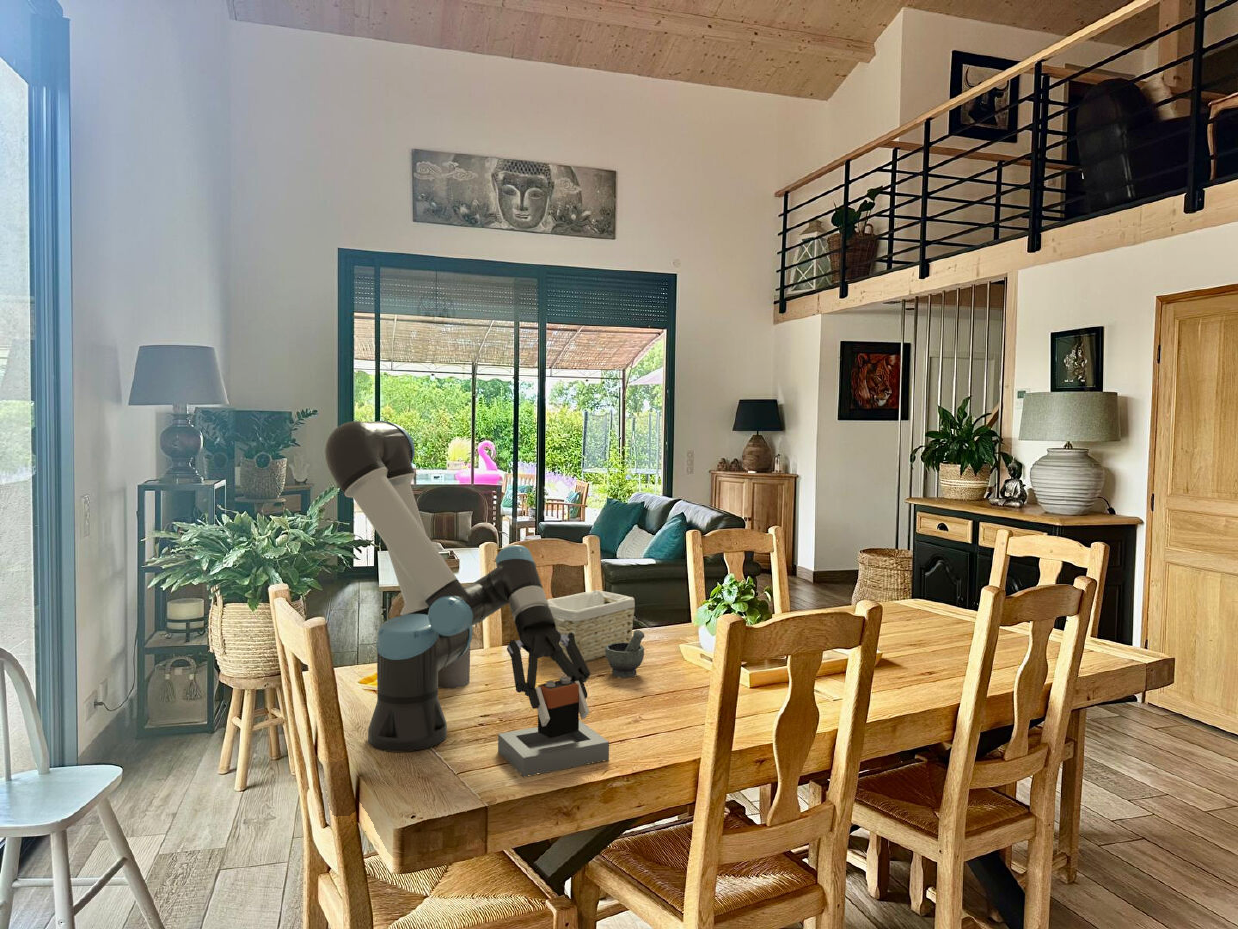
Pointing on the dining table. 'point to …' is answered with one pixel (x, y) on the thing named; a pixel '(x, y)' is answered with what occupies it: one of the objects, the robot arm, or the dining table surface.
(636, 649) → the mortar and pestle
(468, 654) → the pillar candle
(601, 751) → the tray
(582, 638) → the storage basket
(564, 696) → the battery
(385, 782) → the dining table surface
